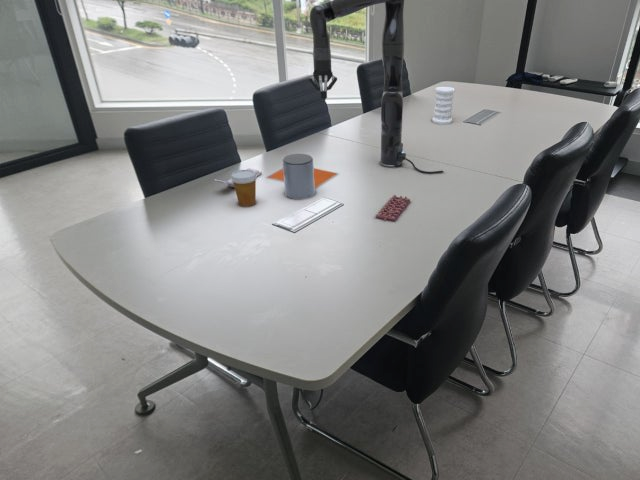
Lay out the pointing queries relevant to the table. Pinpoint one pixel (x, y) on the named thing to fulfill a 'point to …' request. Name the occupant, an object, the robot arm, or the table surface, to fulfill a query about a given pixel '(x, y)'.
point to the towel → (319, 176)
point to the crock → (298, 176)
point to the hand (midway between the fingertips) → (323, 99)
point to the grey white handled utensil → (232, 181)
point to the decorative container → (443, 105)
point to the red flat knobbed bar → (393, 208)
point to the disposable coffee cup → (245, 186)
